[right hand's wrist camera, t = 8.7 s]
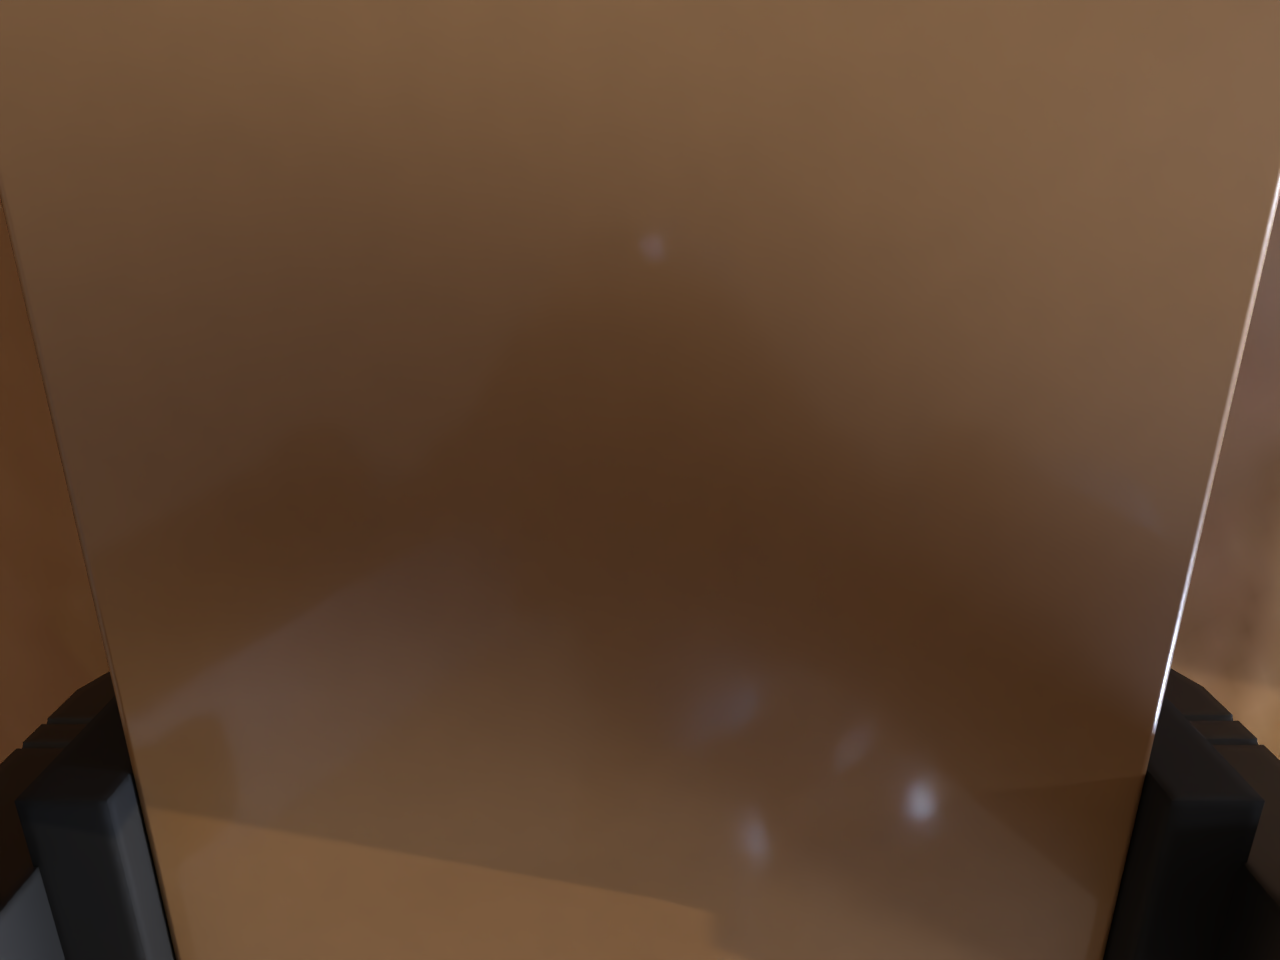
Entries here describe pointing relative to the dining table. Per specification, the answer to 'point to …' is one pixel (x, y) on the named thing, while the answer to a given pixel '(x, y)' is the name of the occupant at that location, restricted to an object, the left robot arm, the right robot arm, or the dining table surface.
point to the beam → (639, 452)
